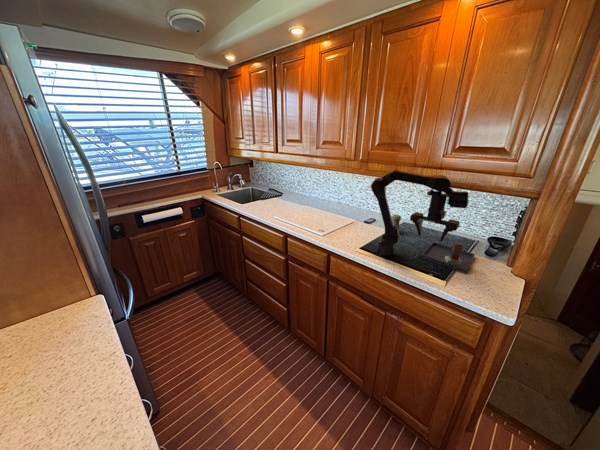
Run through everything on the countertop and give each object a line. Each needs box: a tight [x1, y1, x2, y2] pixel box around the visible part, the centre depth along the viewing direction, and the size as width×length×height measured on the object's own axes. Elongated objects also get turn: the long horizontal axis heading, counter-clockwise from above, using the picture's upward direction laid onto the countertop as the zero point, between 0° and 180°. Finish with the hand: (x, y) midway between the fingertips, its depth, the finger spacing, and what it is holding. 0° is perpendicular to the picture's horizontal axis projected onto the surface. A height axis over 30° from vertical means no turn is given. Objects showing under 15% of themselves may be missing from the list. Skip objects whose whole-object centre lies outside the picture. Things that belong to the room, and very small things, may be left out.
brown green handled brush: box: [445, 241, 464, 265], centre depth 111 cm, size 6×4×10 cm, turn 77°
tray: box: [420, 241, 476, 274], centre depth 117 cm, size 19×19×2 cm
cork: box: [391, 214, 402, 231], centre depth 143 cm, size 6×6×11 cm
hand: (430, 238), depth 108 cm, fingers open, 9 cm apart
